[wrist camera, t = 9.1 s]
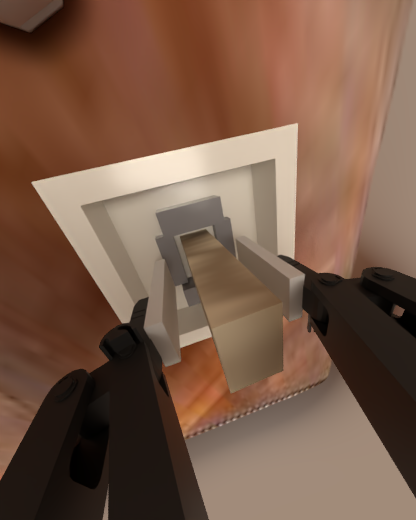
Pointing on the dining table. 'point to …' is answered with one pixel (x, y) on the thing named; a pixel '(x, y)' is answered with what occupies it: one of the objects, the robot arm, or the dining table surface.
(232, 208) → the white square tray
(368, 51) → the dining table surface
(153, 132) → the dining table surface
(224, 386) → the dining table surface
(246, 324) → the tapered beige beam
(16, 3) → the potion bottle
